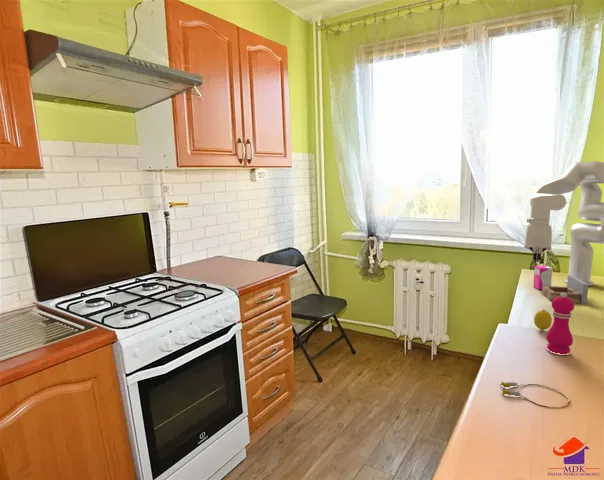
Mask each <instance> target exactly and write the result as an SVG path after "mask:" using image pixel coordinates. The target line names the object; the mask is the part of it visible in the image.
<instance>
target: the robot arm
mask: <svg viewBox="0 0 604 480" xmlns="http://www.w3.org/2000/svg"><path fill="white" fill-rule="evenodd" d="M599 184H604V161H599V160H598V161H597V160H595V161H594V160H593V161H578V162H574V163H572V164H571V165H570V166H569V167H568V168H567V169H566V170H565V171H564V172H563V174H562V175H561V176H560V177H559V178H556V179H554V180H552V181H550V182H548V183H545V184H543V185H542V186H540V187H539V188H537V189H536V191H535V192H534V193H533V195H531V198H530V200H529V201H530V202H529V203H530V205H529V206H530V208H531V209H530V218H529V219H526V223H528V225H527V228H526V234H525V240H524V241H525V243H524V247H523V248H524V249H527V250H530V251H531V252H532V253H533V255H532V256H533V257H532V260H534V263H540V261H541V259H542V253H544V252H545V251H551V250H552V236H553V235H552V232H553V231H552V226H551V225H550V219H551V211H554V212H555V211H560V210H563V209H564V208H565V207H566V205H567V199H566V197H565V196H564V194H568V193H571V192H573V191H575V190H576V189H577V188H578V187H579V188H580V191H581V192H580V198H579V203H578V204H579V205H578V209H577V210H578V211H577V216H578V219H580V220H584V221H591V222H577V223H574V224H573V225H571V227H570V231H569V232H570V233H569V234H570V252H569V253H570V254H569V255H570V256H569V265H568V275H573V276H575V277H576V278H578V279H580V280H582V281H583V282H585V283H587V284H588V285H589V286H588V287H591V286H594V281H592V280H591V276H592V267H593V258H594V249H593V247H592V245H591V243H592V244H601V245H604V201H603V202H602V198H603V197H602V196H603V190H602V188H601V187H600V186H599ZM592 222H600V223H592ZM537 248H539V249H538V251H537V250H536V249H537ZM568 275H567V276H568ZM567 280H568V277H566V278H564V279H563V281H564V283H565V284H567Z"/></svg>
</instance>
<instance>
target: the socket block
mask: <svg viewBox="0 0 604 480" xmlns="http://www.w3.org/2000/svg"><path fill="white" fill-rule="evenodd" d="M562 292H565V293H566V294H567V298H569V299H571V300H572V301H573V303H574V304H581V303H580V300H581V294H580V293H578V292H577V291H575V290H574V289H572V288H571V287H567V286H557V285H556V286H553V285H551V286H542V291H541V295H542V296H543V297H545V298H546V299H547V300H548V301H550V302H551V303H552V301H553V299H554V298H556V297H561V296H560V294H561V293H562Z"/></svg>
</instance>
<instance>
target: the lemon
mask: <svg viewBox="0 0 604 480" xmlns="http://www.w3.org/2000/svg"><path fill="white" fill-rule="evenodd" d="M533 319H534V320H533V323H534V325H535V326H536V328H538V329H539V330H540V331H542V330H543V331H544V330H547V329H548V330H549V329H550V328H551V326H552V324H553V318H552V315H551V314H550V313H549V312H548V311H547V310H545V309H542V310H538V311H537V312H535V315H534V318H533Z"/></svg>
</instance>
